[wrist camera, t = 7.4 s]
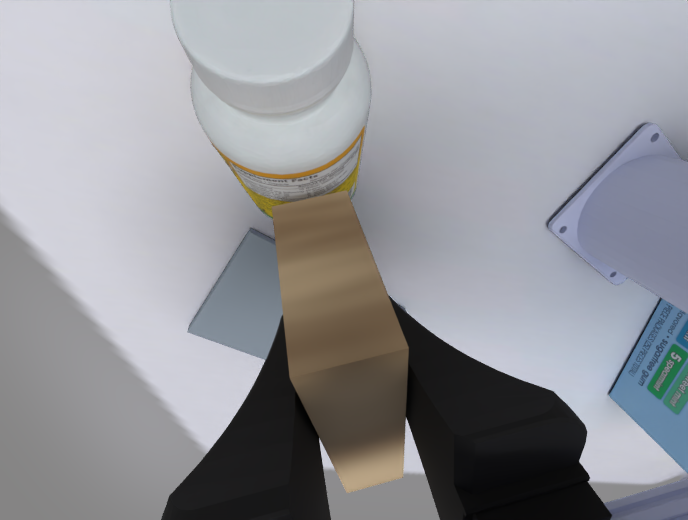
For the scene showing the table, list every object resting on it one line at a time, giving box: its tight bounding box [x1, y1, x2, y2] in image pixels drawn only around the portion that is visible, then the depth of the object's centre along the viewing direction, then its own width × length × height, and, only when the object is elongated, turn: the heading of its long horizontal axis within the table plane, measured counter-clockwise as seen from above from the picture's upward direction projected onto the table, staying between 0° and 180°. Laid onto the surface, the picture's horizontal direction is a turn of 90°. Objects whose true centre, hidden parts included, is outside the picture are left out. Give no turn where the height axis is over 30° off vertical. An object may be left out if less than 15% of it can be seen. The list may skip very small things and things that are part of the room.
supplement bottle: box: [170, 0, 371, 220], centre depth 12 cm, size 5×5×10 cm
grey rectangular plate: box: [187, 228, 406, 360], centre depth 23 cm, size 12×8×1 cm, turn 54°
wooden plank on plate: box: [272, 190, 409, 493], centre depth 13 cm, size 11×2×6 cm, turn 9°
